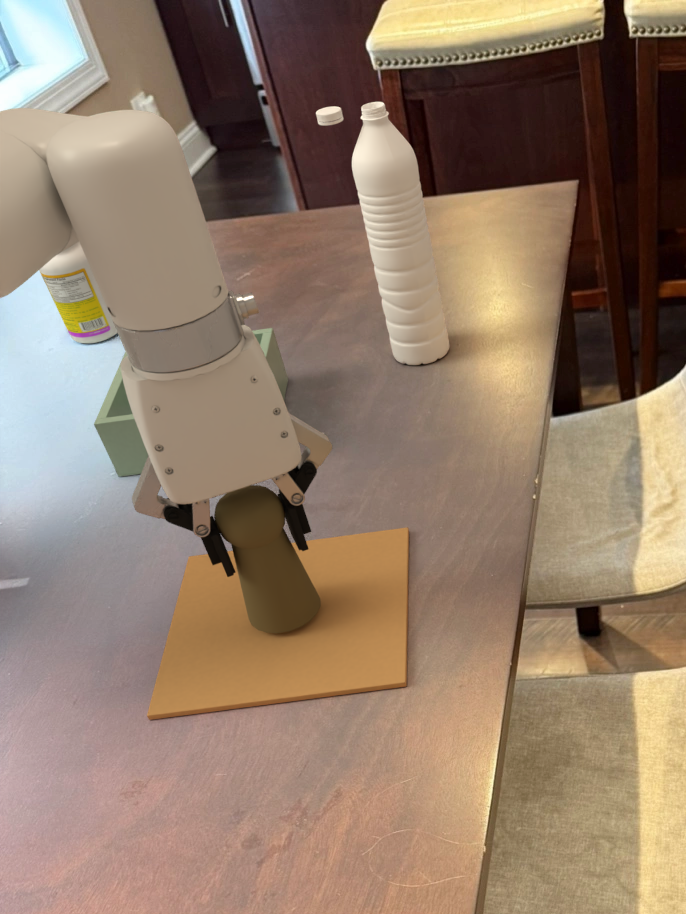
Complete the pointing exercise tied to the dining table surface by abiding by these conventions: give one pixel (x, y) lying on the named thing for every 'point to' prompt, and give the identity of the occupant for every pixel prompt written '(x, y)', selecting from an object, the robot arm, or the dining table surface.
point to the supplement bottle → (78, 296)
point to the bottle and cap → (397, 235)
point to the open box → (120, 423)
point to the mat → (289, 632)
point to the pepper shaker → (266, 560)
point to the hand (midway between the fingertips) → (263, 552)
